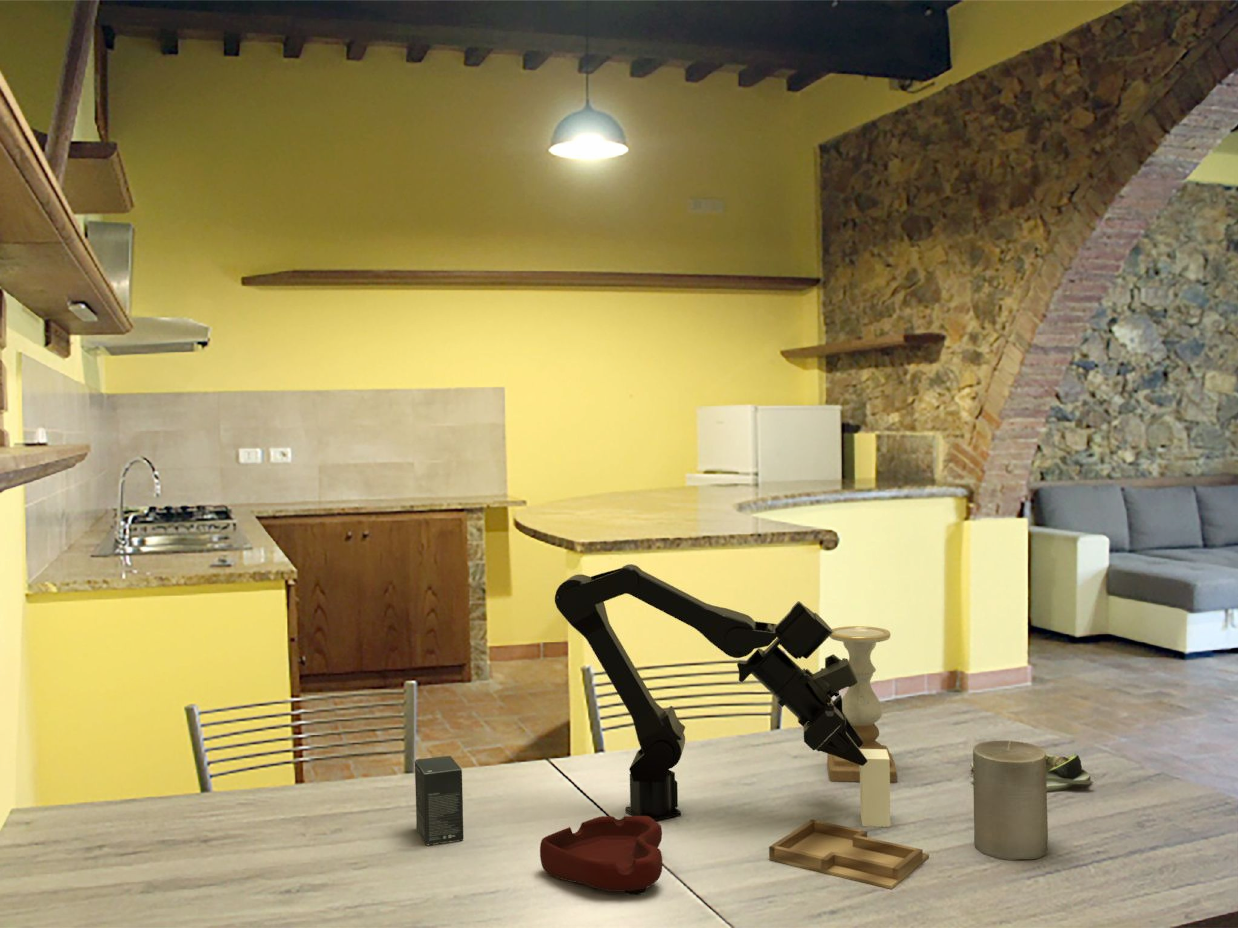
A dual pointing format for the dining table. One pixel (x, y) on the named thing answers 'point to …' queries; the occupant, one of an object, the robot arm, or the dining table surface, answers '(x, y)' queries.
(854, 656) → the candle holder
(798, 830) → the keyhole frame
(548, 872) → the ashtray
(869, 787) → the panel block
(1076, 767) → the salad plate
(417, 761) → the box
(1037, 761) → the pillar candle
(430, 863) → the dining table surface
